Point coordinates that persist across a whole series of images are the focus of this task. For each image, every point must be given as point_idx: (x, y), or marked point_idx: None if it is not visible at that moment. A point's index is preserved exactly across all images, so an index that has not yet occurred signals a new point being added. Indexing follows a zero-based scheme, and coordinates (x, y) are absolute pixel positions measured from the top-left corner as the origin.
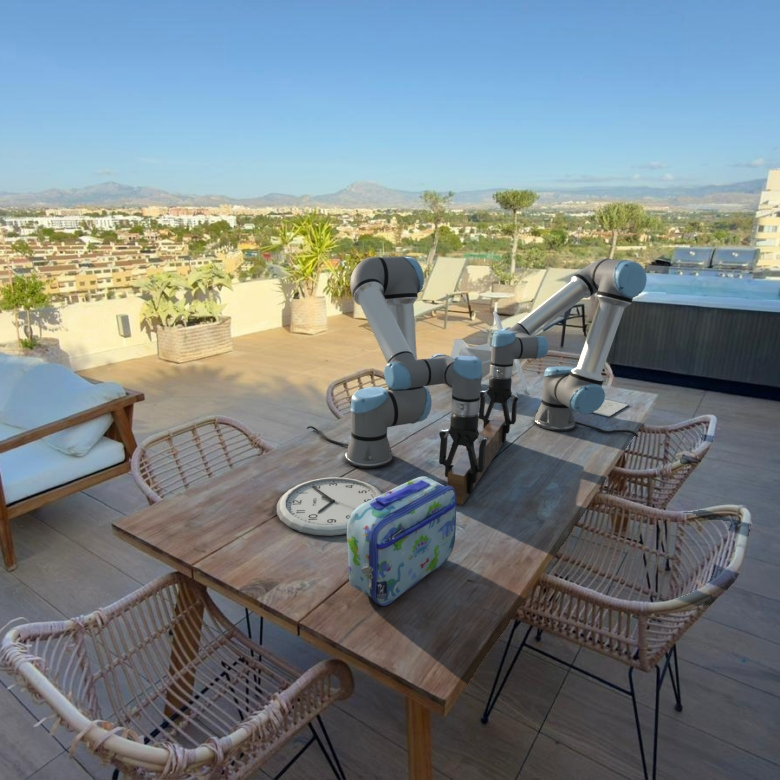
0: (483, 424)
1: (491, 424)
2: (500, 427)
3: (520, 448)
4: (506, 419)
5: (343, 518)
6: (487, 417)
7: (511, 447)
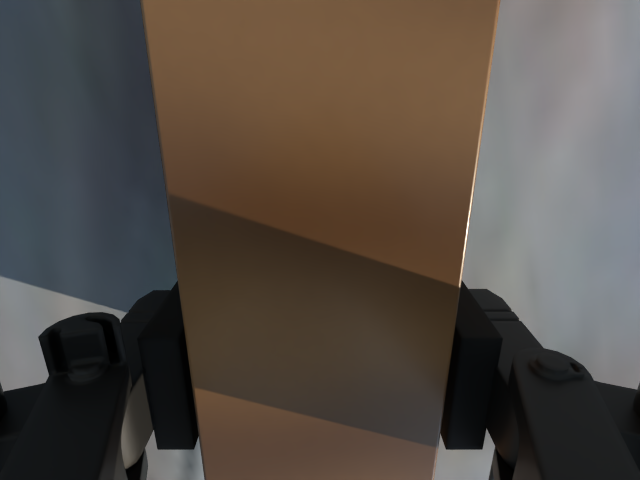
0: (527, 329)
1: (383, 217)
2: (169, 176)
3: (90, 255)
4: (64, 440)
5: None
6: (538, 416)
7: (166, 242)
